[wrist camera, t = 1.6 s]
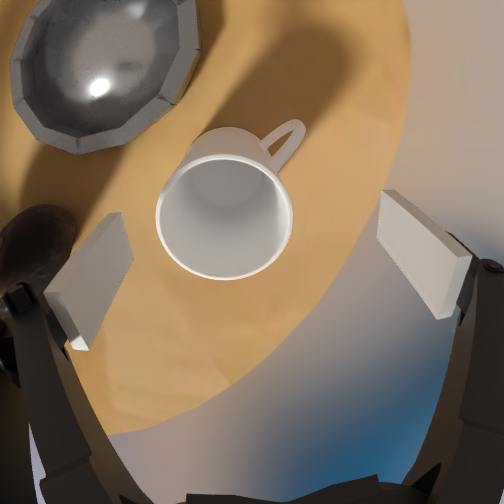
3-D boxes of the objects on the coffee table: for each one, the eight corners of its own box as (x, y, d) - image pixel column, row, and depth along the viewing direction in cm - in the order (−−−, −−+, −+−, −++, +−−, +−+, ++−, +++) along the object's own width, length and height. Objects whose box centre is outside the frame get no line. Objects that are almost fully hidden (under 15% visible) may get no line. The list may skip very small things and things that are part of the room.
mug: (261, 86, 24) (281, 78, 13) (317, 156, 27) (367, 199, 17) (164, 168, 27) (123, 218, 17) (223, 228, 31) (219, 305, 20)
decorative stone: (47, 294, 34) (-3, 376, 21) (4, 250, 30) (-59, 320, 17) (118, 214, 29) (49, 305, 16) (64, 155, 25) (-35, 213, 12)
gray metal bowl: (40, 163, 25) (25, 171, 23) (26, 9, 16) (10, 5, 13) (210, 126, 25) (207, 130, 23) (195, -49, 16) (191, -63, 13)
